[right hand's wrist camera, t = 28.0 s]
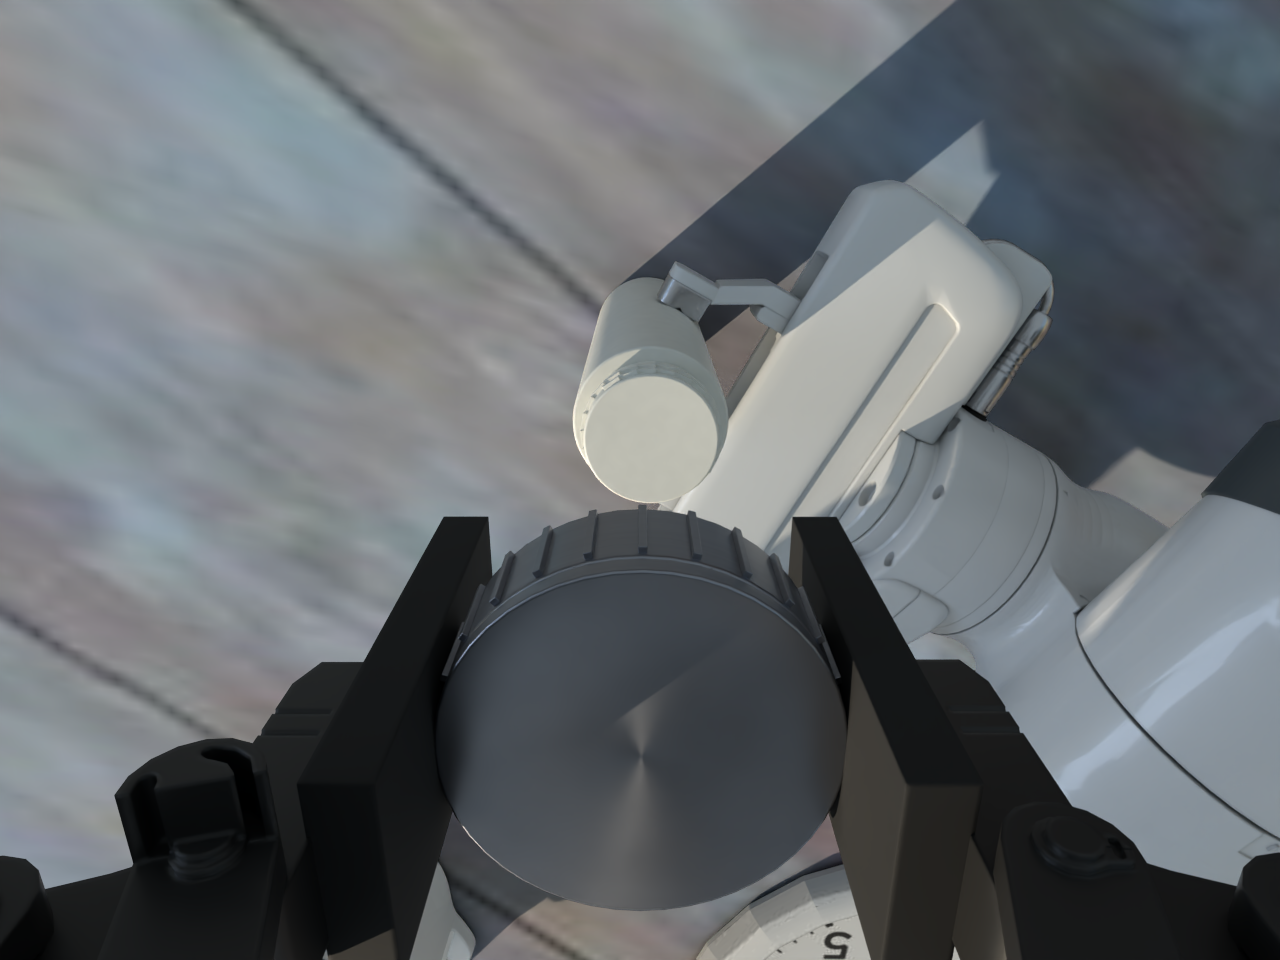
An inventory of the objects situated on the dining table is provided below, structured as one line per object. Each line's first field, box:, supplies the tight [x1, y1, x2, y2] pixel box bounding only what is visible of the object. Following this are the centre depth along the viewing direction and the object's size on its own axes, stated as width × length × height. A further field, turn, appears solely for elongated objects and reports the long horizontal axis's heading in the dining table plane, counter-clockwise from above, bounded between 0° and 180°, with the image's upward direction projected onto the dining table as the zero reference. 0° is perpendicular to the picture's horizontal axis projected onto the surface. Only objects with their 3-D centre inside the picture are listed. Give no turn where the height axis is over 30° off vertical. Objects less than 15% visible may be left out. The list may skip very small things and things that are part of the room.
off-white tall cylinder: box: [573, 277, 728, 503], centre depth 31 cm, size 5×5×17 cm
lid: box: [434, 505, 848, 911], centre depth 11 cm, size 5×5×2 cm
